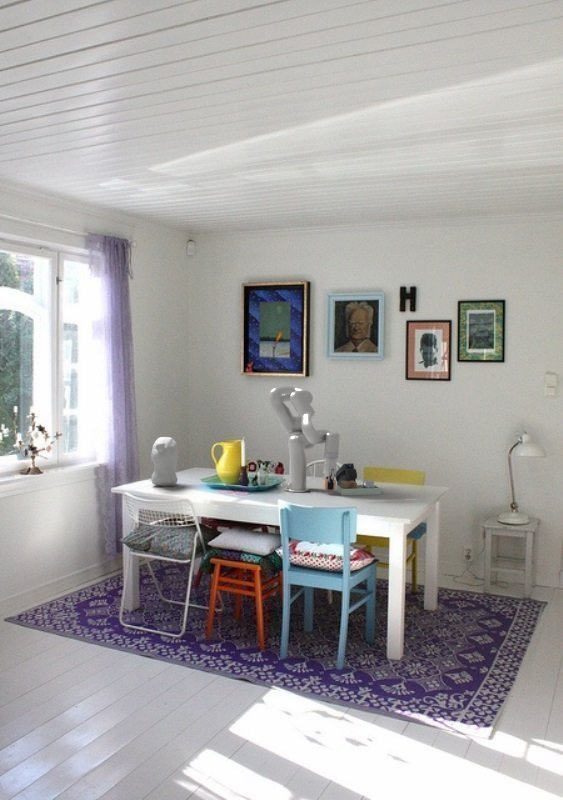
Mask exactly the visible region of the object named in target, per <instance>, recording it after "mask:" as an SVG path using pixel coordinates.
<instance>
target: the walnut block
mask: <svg viewBox="0 0 563 800" xmlns="http://www.w3.org/2000/svg"><path fill="white" fill-rule="evenodd" d="M357 485H358V482H357V481H356V482H355V481H341V488H343V489H357Z"/></svg>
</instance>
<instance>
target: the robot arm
mask: <svg viewBox="0 0 563 800" xmlns="http://www.w3.org/2000/svg"><path fill="white" fill-rule="evenodd" d="M313 399H314V397H313V394H312V392H311V391H309V390H307V389H303V388H299V387H296V386H276V387H274V388H272V389H271V390H270V392H269V394H268V404H269V406H270V409H271V411H273V414H274V415H275V417H276V418H277V421H278V423H279V425H280V426H281V428H282V430H283V432H284V433H285V434H287V435H291V436H290V437H289V438H288V441H287V448H288V453H289V472H288V473H289V476H288V477H289V479H288V480H289V481H288V482H286V483H280V487H281V488H286V489H285V490H286V492H289V493H307V492H309V491H310V488H309V487H307V474H308V473H307V465H308V464H307V463H308V462H307V459H308V458H307V455H306V451H307V450H311V449H314V447H315V446H316V445H322V444H324V455H323V457H324V463H323V471H322V473H323V475H324V476H325V477H324V479H328V487H327V489H328V490H327V491H334V490H333V487H334V480H335V478H336V477H335V476H336V472H337V463H338V462H337V459H339V455H340V454H339V451H340V435H341V434H340V433H339V432H336V431H330V430H328V429H317V430H316V429H315V427H314V425H313V422H312V418H313V416H314V415H315V410H314V408H313V406H312V405H311V404H312V403H313ZM284 402H291V405H292V406H293V408H294V409H295V411H296V413H297V414H298V416H294V415H293V413H292V412H291V410H290V408H289V407H288V406H287V404H286V403H284ZM292 434H293V435H292Z"/></svg>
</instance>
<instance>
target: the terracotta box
mask: <svg viewBox="0 0 563 800" xmlns="http://www.w3.org/2000/svg"><path fill="white" fill-rule="evenodd" d="M336 485H337V481H336V479H334V487H333V490H332V491H336ZM327 487H328V479H325V478H322V489H323V490H324V491H329V490H328V489H327Z"/></svg>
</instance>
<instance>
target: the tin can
mask: <svg viewBox="0 0 563 800" xmlns="http://www.w3.org/2000/svg"><path fill="white" fill-rule="evenodd" d="M362 485H363V488H374V485H375V481H374V480H363V481H362Z"/></svg>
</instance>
